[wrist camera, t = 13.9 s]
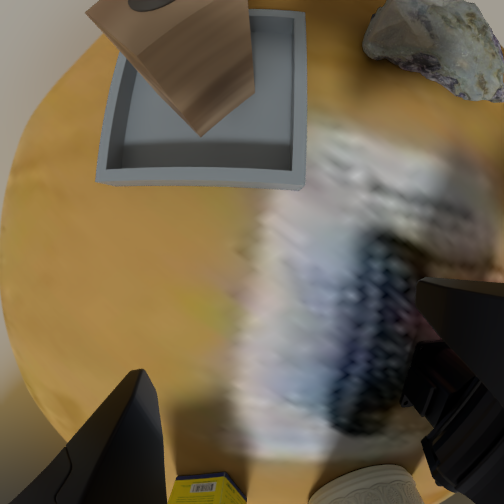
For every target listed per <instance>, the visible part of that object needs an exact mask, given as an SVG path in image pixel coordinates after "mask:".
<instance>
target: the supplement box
mask: <svg viewBox="0 0 504 504" xmlns="http://www.w3.org/2000/svg"><path fill="white" fill-rule="evenodd" d="M246 503H247V498H246V497H245V495H244V494H243V493H242V492H241V491H240V489H239V488H238V487H237V486H236V484H235V483H234V482H233V481H232V479H231V478H230V477H229V476H228V474H227V473H226V472H220V473H211V474H202V475H190V476H178V477H176V480H175V483H174V486H173V489H172V492H171V495H170V498H169V501H168V504H246Z"/></svg>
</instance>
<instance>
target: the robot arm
mask: <svg viewBox="0 0 504 504" xmlns="http://www.w3.org/2000/svg"><path fill="white" fill-rule="evenodd" d="M415 305H416V308H417V309H418V311H419V312H420V313H421V314H422V315H423V317H424V318H425V319H426V320H427V322H428V323H429V324H430V325H431V326H432V328H433V329H434V330H435V331H436V333H437V334H438V335H439V336H440V337H441V339H442V340H435V341H423V342H419V343H418V344H417V345H416V347H415V351H414V355H413V359H412V363H411V367H410V368H409V371H408V375H407V378H406V382H405V385H404V388H403V393H402V396H401V399H400V405H401V407H410V406H414V407H415V408H416V410H417V411H418V412H419V414H420V415H421V416H422V417H424V416H425V417H426V418H427V420H428V421H429V422H430V424H431V425H432V426H433V428H434V429H433V430H432V431H431V432H430V433H429V434H428V435H427V436H425V437H424V438H423V439H422V440H421V443H422V446H423V451H424V453H425V456H426V459H427V462H428V465H429V468H430V471H431V474H432V477H433V478H434V479H435V483H436V484H437V485H438V486H443V487H444V488H446V489H447V490H449V491H451V492H454V493H457V492H460V493H462V494H464V495H466V496H467V497H468V498H469V499H471V500H472V501H473V502H474V503H475V504H504V283H495V282H482V281H469V280H456V279H444V278H432V277H425V278H423V279H421V280H419V281H418V282H417V283H416V293H415ZM422 346H423V347H422ZM421 347H422V349H421V350H420V348H421ZM405 401H406V402H405ZM404 402H405V403H404ZM9 504H167V495H166V482H165V467H164V445H163V434H162V427H161V420H160V413H159V406H158V398H157V393H156V390H155V388H154V386H153V384H152V382H151V380H150V378H149V376H148V374H147V373H146V371H145V370H144V369H137V370H132V371H130V372H129V373H128V374H127V375H126V376H125V377H124V379H123V380H122V381H121V382H120V383H119V384H118V385H117V387H116V388H115V389H114V390H113V391H112V392H111V394H110V395H109V396H108V397H107V398H106V399H105V400H104V402H103V403H102V404H101V405H100V406H99V407H98V408H97V410H96V411H95V412H94V413H93V414H92V415H91V417H90V418H89V419H88V420H87V421H86V422H85V424H84V425H83V426H82V427H81V428H80V429H79V430H78V432H77V433H76V434H75V435H74V436H73V437H72V439H71V440H70V441H69V442H68V443H67V444H66V447H64V448H63V449H62V450H61V452H60V453H59V454H58V455H57V456H56V457H55V458H54V460H53V461H52V462H51V463H50V464H49V465H48V466H47V467H46V468H45V469H44V470H43V471H42V472H41V473H40V474H39V475H38V476H37V477H36V478H35V479H34V480H33V481H32V482H31V483H30V484H29V485H28V486H27V487H26V488H25V489H24V490H23V491H22V492H21V493H20V494H19V495H18V496H17V497H16V498H14V499H13V500H12V501H11V502H10V503H9Z"/></svg>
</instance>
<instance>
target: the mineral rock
mask: <svg viewBox="0 0 504 504" xmlns="http://www.w3.org/2000/svg"><path fill="white" fill-rule="evenodd" d="M362 47H363V51H364V52H365V53H366V54H367V56H368V57H370V58H372V59H375V60H379V59H383V58H386V59H387V60H389V61H390V62H392V63H394V64H396V65H398V66H399V67H400V68H401V69H403V70H408V71H413V72H420V73H421V74H422V75H423V76H425V77H426V78H427V79H429V80H432V81H435V82H437V83H439V84H441V85H442V86H444V87H445V88H447V89H448V90H449V91H450V92H451V93H453V94H454V95H455V96H458V97H462V98H463V99H464V100H471V101H479V100H488V101H491V102H493V103H495V102H504V83H503V73H504V60H503V54H502V51H501V46H500V44H499V41H498V40H497V38H496V37H495V35H494V34H493V31H492V29H491V28H490V26H489V24H488V23H487V22H486V21H485V19H484V18H483V15H482V13H481V12H480V10H479V8H478V7H477V6H476V5H475V4H474V3H468V2H465V1H464V0H387V1H386V3H385V5H384V6H383V7H379V8H378V10H377V12H376V13H375V14H373V15H372V18H371V21H370V24H369V26H368V29H367V31H366V33H365V35H364V39H363V42H362Z"/></svg>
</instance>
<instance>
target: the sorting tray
mask: <svg viewBox="0 0 504 504" xmlns="http://www.w3.org/2000/svg"><path fill="white" fill-rule="evenodd" d="M249 21H250V33H251V46H252V59H253V72H254V85H255V93H254V94H253V95H252V96H250V97H249V98H248V99H247V100H245V101H244V102H243V103H241V104H240V105H239V106H238V107H236V108H235V109H234V110H233V111H231V112H230V113H229V114H228V115H227V116H225V117H224V118H223V119H222V120H221V121H219V122H218V123H217V124H216V125H215V126H214V127H212V128H211V129H210V130H209V131H208V132H207V133H205V134H204V135H203V136H202V137H201V138H200V137H199V135H198V134H197V133H196V132H195V131H194V130H193V129H192V128H191V127H190V126H189V125H188V124H187V123H186V122H185V121H184V120H183V119H182V118H181V117H180V116H179V115H178V114H177V113H176V112H175V111H174V110H173V109H172V108H171V107H170V106H169V105H168V104H167V103H166V102H165V101H164V100H163V99H162V98H161V97H160V96H159V95H158V94H157V93H156V92H155V90H154V89H153V88H152V87H151V86H150V85H149V84H148V82H147V81H146V80H145V79H144V78H143V77H142V75H141V74H140V73H139V72H138V71H137V70H136V69H135V68H134V66H133V65H132V64H131V63H130V62H129V61H128V60H127V58H126V57H125V56H124V55H123V54H122V53H121V52H119V56H118V59H117V63H116V67H115V70H114V74H113V78H112V82H111V86H110V91H109V95H108V100H107V105H106V110H105V115H104V120H103V126H102V132H101V139H100V145H99V153H98V161H97V170H96V180H95V182H98V183H103V184H107V185H112V186H219V187H244V188H264V189H280V190H294V191H299V190H300V189H302V188H303V187H304V186H305V175H306V143H307V50H306V21H305V12H298V11H286V10H270V9H249Z"/></svg>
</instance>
